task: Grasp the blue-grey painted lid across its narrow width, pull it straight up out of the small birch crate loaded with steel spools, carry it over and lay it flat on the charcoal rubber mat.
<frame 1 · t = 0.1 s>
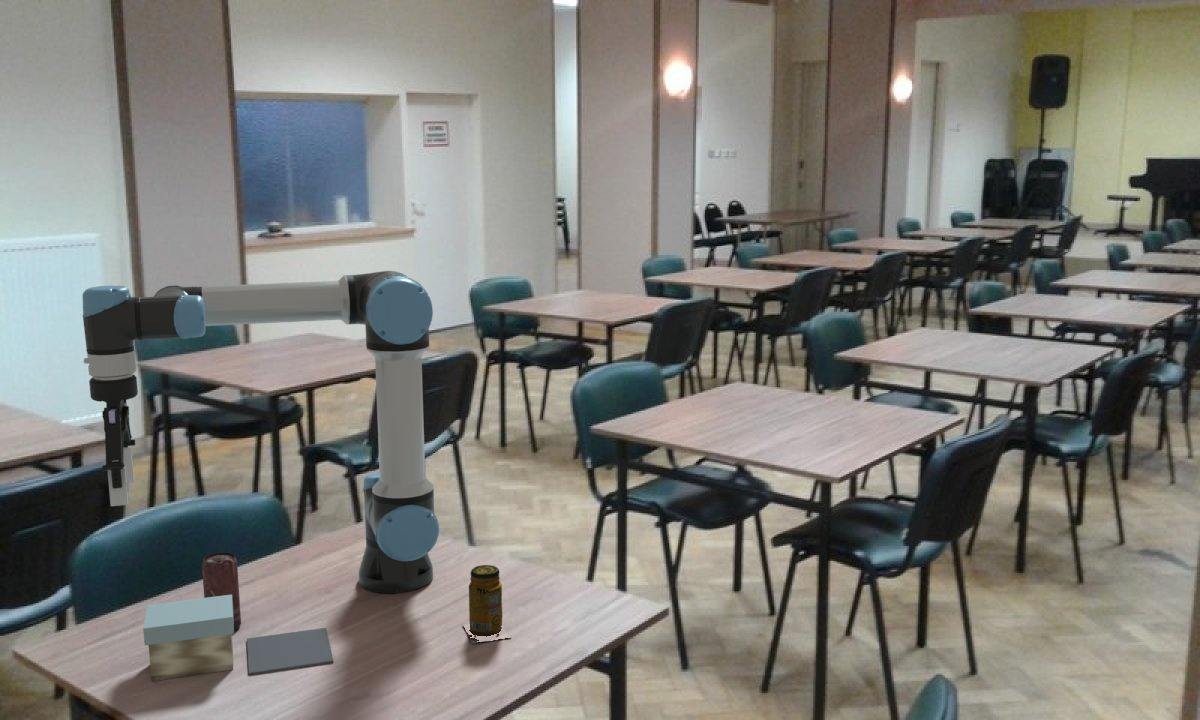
hand: (122, 493, 191), 28 cm above the table, fingers open, 13 cm apart
condiment: (486, 633, 200), on the table
mat: (289, 651, 193), on the table
lid: (190, 627, 186), point 7 cm above the table, touching crate
crate: (193, 665, 187), on the table
can: (224, 629, 202), on the table
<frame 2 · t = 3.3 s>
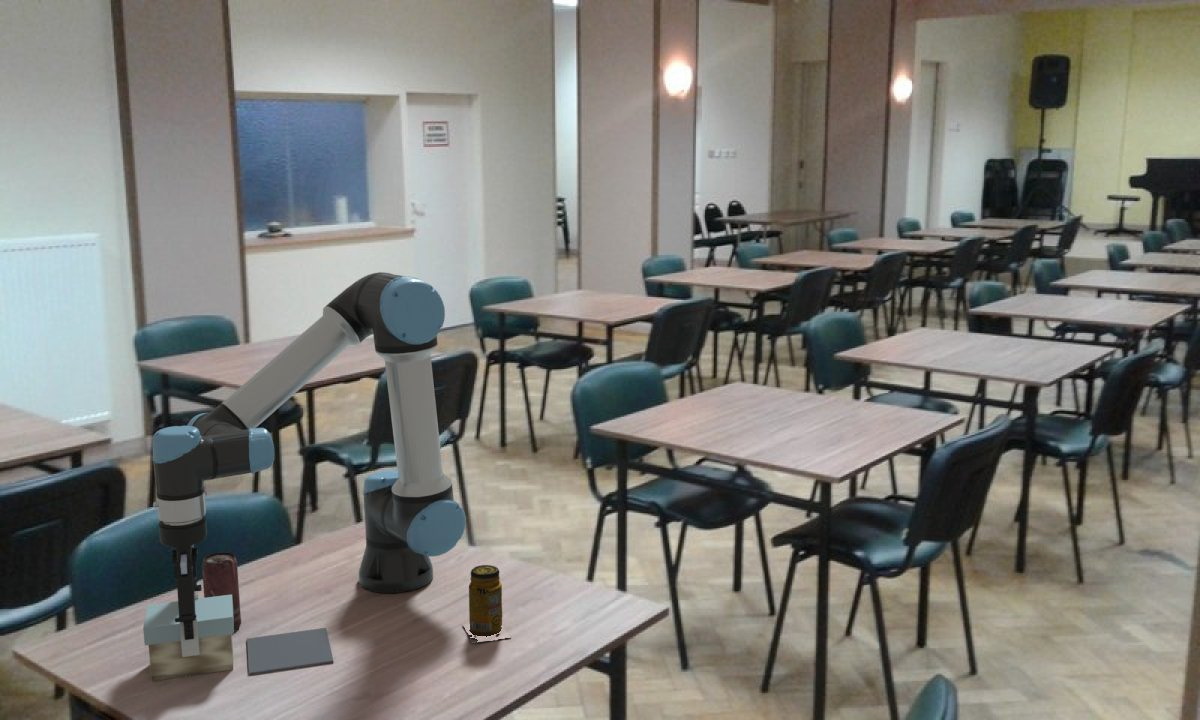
hand: (191, 641, 187), 4 cm above the table, fingers closed on lid, 10 cm apart
lid: (190, 627, 186), point 7 cm above the table, touching crate, gripper
everything else where it was.
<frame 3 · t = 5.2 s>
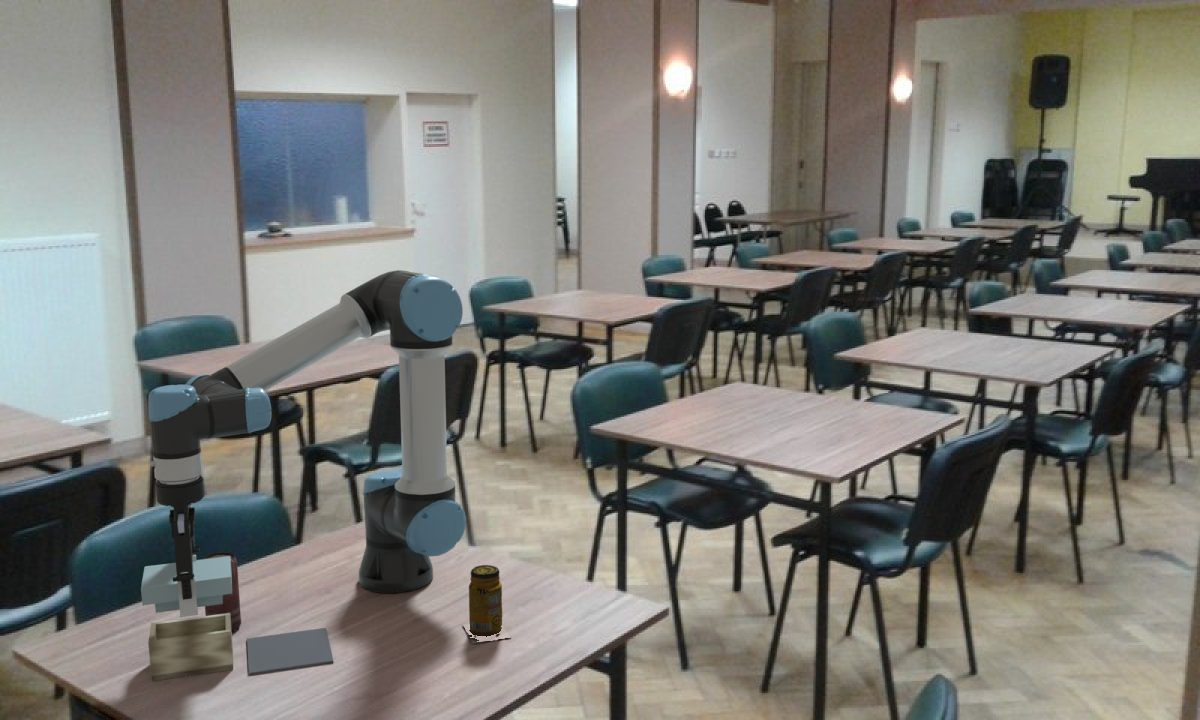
hand: (189, 602, 185), 11 cm above the table, fingers closed on lid, 10 cm apart
lid: (188, 588, 185), point 14 cm above the table, touching gripper
everything else where it was.
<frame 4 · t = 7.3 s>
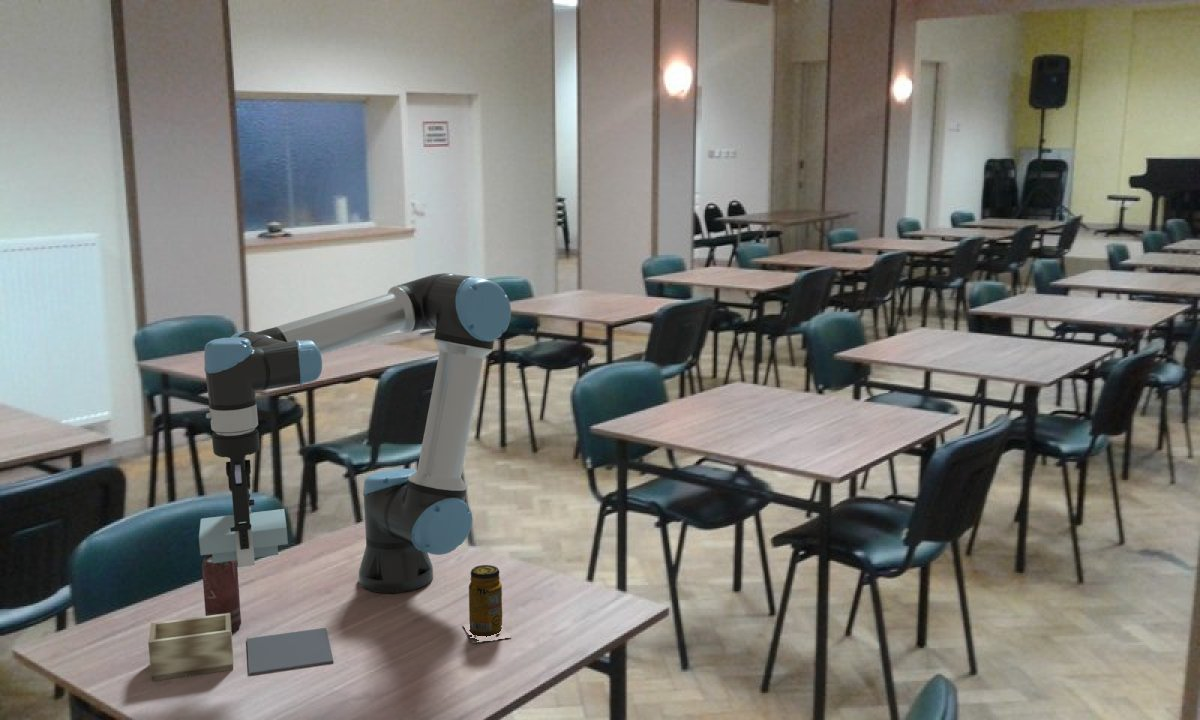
hand: (246, 554, 187), 19 cm above the table, fingers closed on lid, 10 cm apart
lid: (244, 539, 187), point 22 cm above the table, touching gripper
everything else where it was.
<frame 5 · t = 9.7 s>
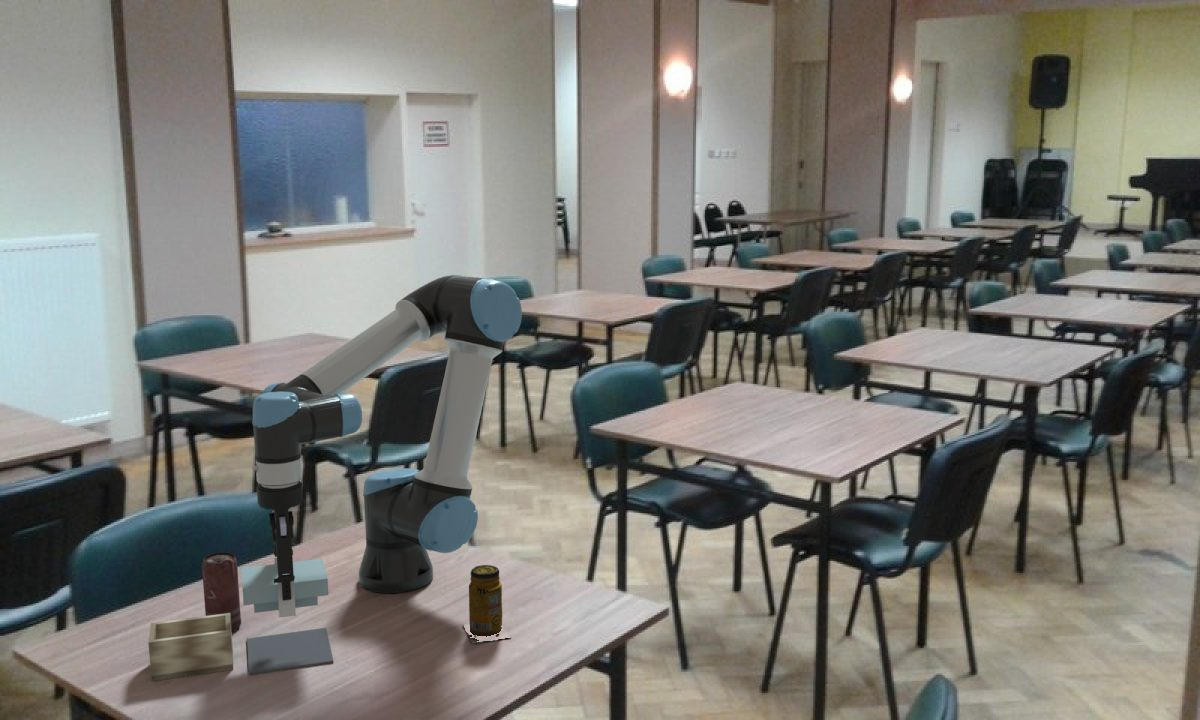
hand: (285, 603, 191), 9 cm above the table, fingers closed on lid, 10 cm apart
lid: (284, 589, 190), point 12 cm above the table, touching gripper
everything else where it was.
when the fingers open (2 cm above the table, at t = 11.6 s): lid drops 2 cm, resting on mat.
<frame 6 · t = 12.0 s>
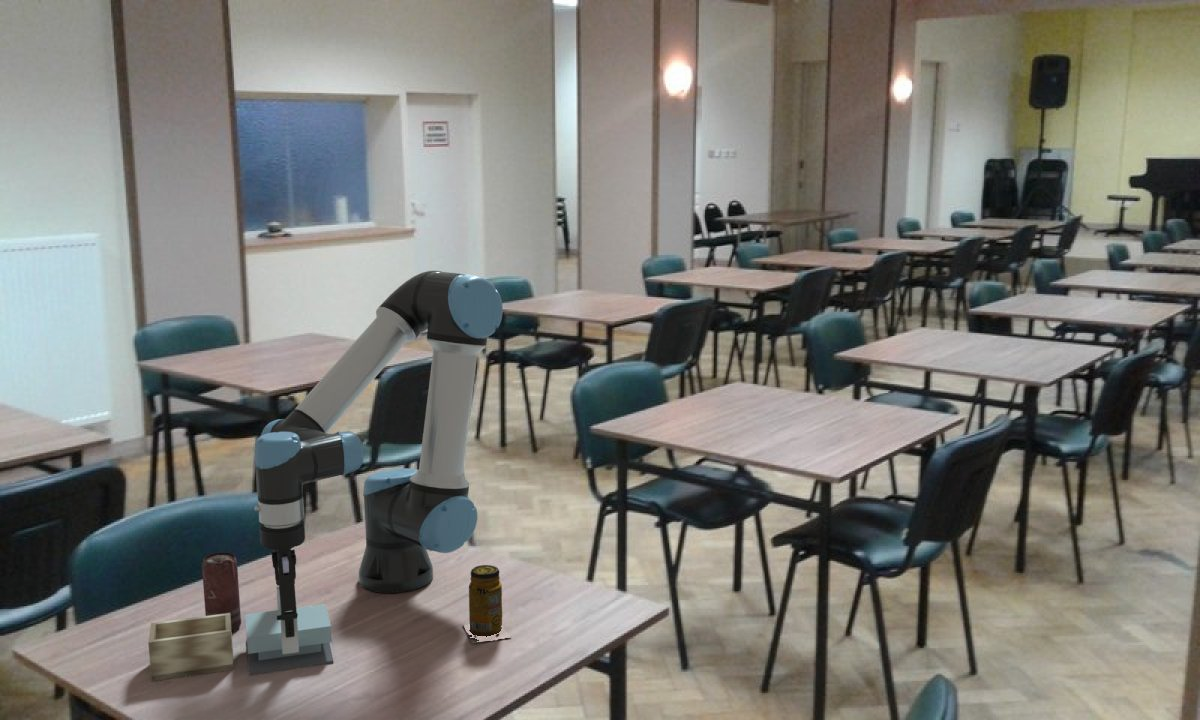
hand: (288, 636, 192), 3 cm above the table, fingers open, 13 cm apart
lid: (288, 635, 192), point 3 cm above the table, touching mat
everything else where it was.
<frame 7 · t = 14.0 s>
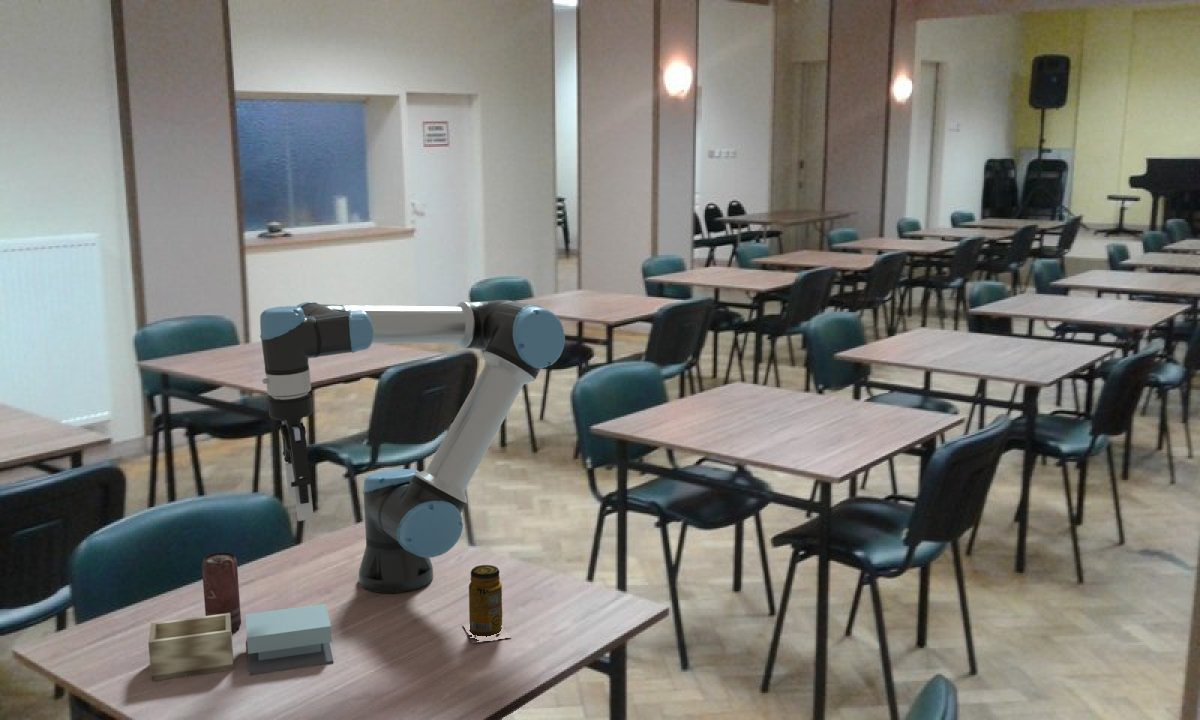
hand: (300, 507, 197), 24 cm above the table, fingers open, 13 cm apart
nothing on the table moved.
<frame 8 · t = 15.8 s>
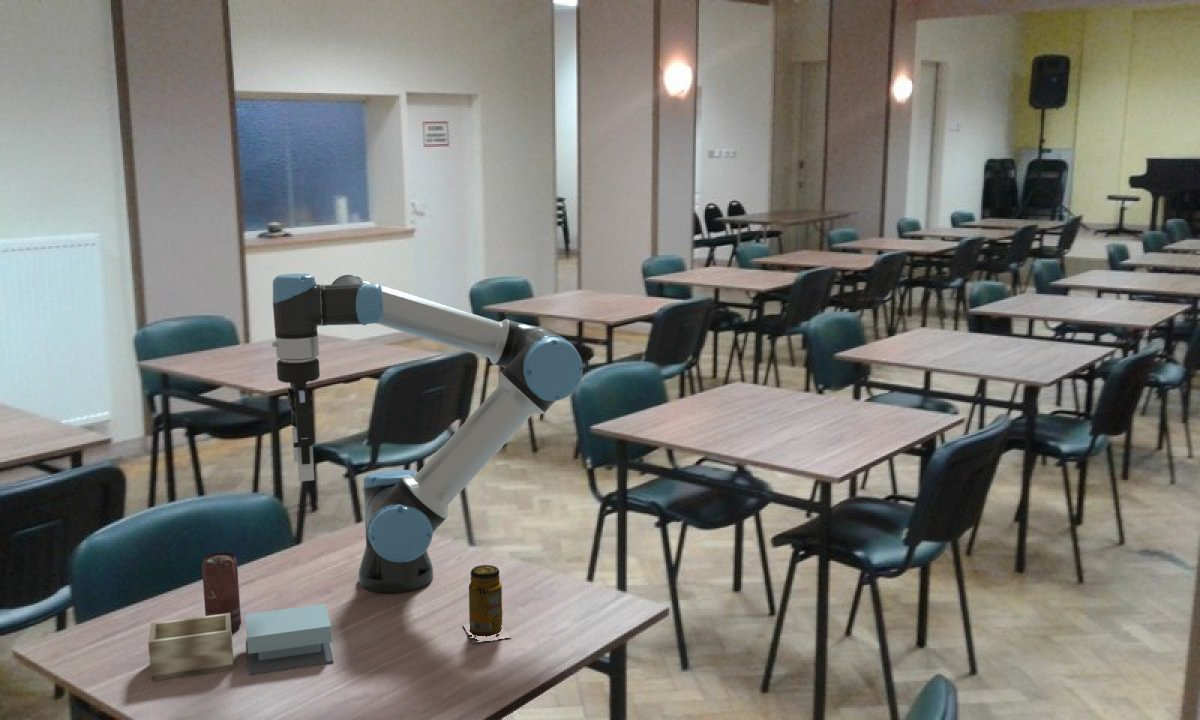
hand: (303, 470, 203), 29 cm above the table, fingers open, 13 cm apart
nothing on the table moved.
at the end: lid inside the target area on the mat (0.1 cm from its centre), point 2.9 cm above the mat's base; lid tilted 0°; lid touching mat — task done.
